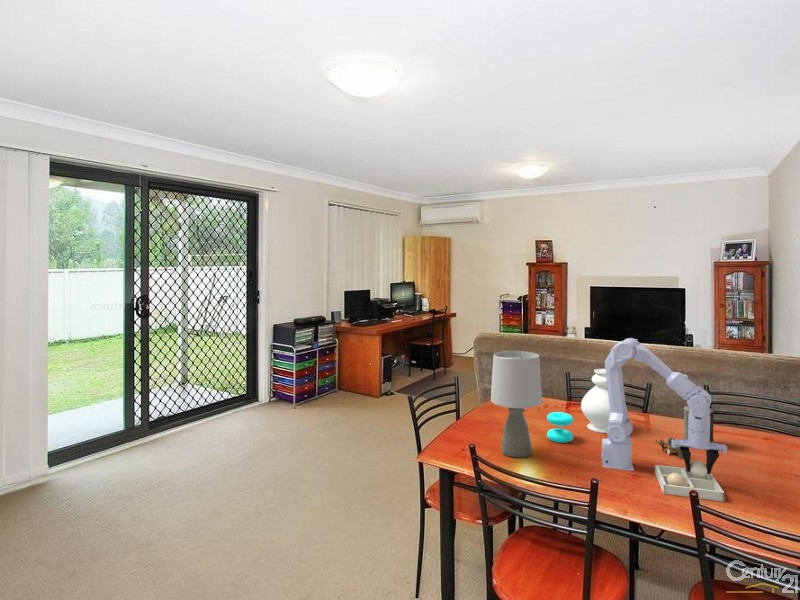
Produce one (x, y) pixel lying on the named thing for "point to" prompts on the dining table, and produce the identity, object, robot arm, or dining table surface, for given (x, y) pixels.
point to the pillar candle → (686, 412)
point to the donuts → (558, 433)
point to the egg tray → (689, 484)
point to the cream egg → (698, 469)
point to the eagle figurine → (670, 447)
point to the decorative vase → (597, 403)
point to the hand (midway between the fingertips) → (698, 471)
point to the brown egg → (676, 480)
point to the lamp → (516, 396)
